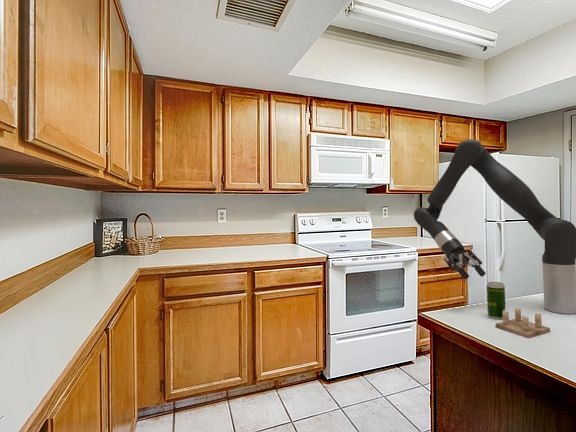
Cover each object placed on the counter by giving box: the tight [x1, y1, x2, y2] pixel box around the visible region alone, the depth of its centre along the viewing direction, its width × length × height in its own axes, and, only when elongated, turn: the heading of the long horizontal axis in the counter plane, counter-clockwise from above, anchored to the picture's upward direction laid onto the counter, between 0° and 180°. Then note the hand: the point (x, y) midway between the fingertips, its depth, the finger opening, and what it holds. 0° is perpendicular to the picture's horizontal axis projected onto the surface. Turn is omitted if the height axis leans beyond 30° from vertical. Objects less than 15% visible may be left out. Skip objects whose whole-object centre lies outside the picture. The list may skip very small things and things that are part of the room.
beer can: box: [486, 281, 507, 321], centre depth 111 cm, size 5×5×12 cm
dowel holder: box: [495, 307, 551, 339], centre depth 100 cm, size 10×10×5 cm
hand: (475, 276), depth 118 cm, fingers open, 8 cm apart
